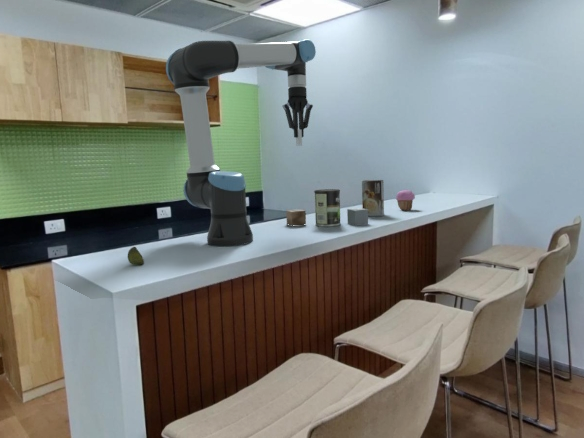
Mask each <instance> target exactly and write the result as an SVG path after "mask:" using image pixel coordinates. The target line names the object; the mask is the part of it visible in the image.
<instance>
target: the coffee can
mask: <svg viewBox="0 0 584 438" xmlns="http://www.w3.org/2000/svg"><path fill="white" fill-rule="evenodd" d="M340 191H341V190H340V189H338V188H337V189H336V188H335V189H334V188H332V189H331V188H328V189H327V188H326V189H325V188H324V189H316V190H314V191H313V193H314V212H315V213H314V214H315V218H314V219H315V226H317V227H337V226H340V225H341V198H340V196H341V194H340Z"/></svg>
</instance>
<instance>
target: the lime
mask: <svg viewBox="0 0 584 438" xmlns="http://www.w3.org/2000/svg"><path fill="white" fill-rule="evenodd" d="M127 260H128V262H129V263H130V264H132V265H134V266H135V265H136V266H141V265H143V264H145V260H144V257H143V256H142V254H141V252H140V251H139V249H137V247H136V246H133V247H131V248H130V249H129V250H128V251H127Z"/></svg>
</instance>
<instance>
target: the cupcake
mask: <svg viewBox="0 0 584 438" xmlns="http://www.w3.org/2000/svg"><path fill="white" fill-rule="evenodd" d="M415 198H416V195H415V193H414V192H413V191H412V190H407V189H404V190H400V191H398V192H397V194H396V196H395V200H397V206H398V208H399V209H400V210H404V211H410V210H412V209H413V208H412V207H413V201H414V200H415Z"/></svg>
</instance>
